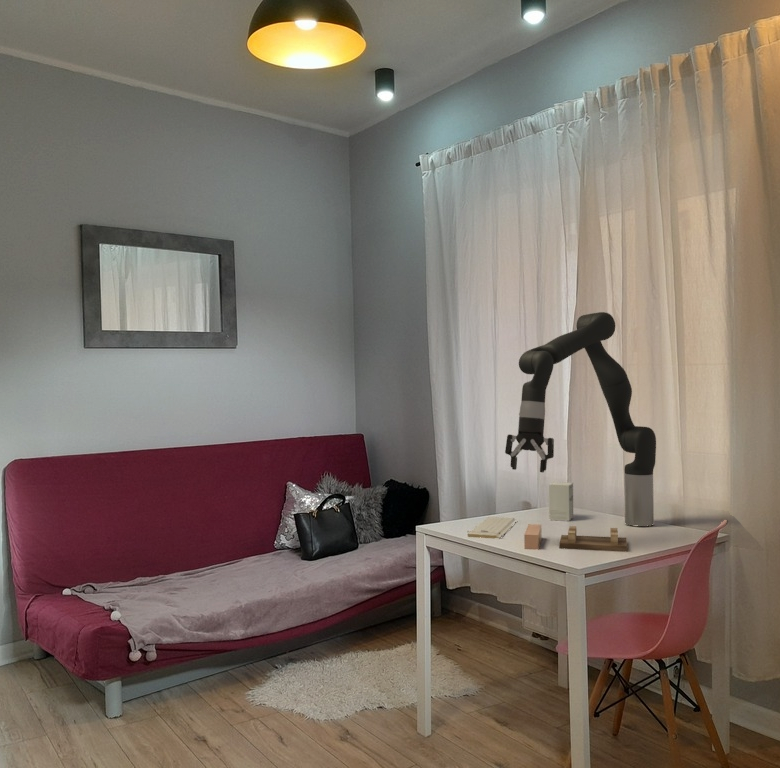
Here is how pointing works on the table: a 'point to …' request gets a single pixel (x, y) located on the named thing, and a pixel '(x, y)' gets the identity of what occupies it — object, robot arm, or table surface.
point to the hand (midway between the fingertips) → (527, 470)
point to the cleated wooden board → (593, 541)
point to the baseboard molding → (492, 528)
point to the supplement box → (560, 501)
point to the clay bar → (532, 536)
